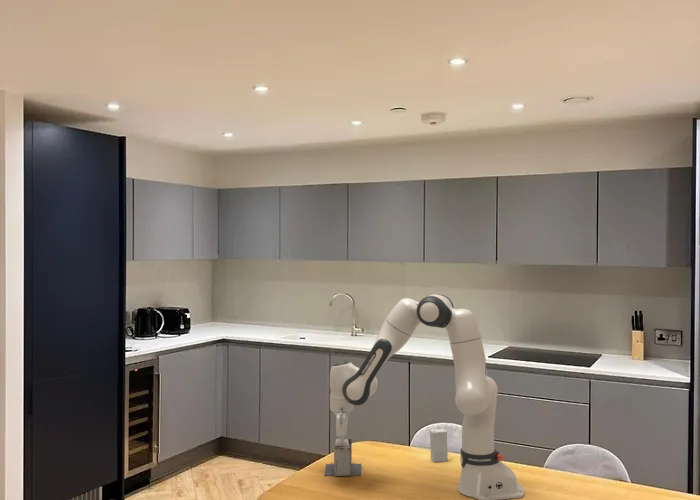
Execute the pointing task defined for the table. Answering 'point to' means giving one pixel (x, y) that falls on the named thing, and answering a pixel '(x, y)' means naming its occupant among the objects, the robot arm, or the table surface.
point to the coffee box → (342, 457)
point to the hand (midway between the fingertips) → (342, 441)
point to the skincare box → (438, 445)
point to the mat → (354, 472)
